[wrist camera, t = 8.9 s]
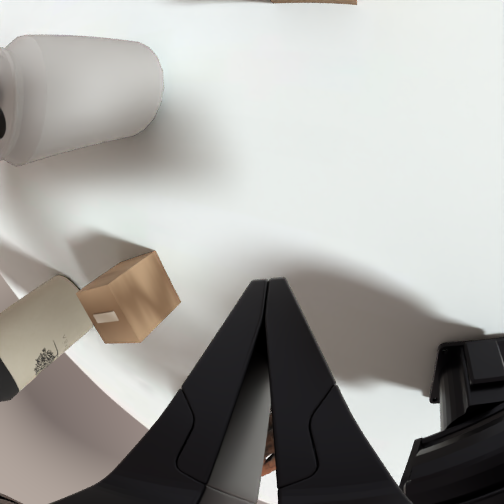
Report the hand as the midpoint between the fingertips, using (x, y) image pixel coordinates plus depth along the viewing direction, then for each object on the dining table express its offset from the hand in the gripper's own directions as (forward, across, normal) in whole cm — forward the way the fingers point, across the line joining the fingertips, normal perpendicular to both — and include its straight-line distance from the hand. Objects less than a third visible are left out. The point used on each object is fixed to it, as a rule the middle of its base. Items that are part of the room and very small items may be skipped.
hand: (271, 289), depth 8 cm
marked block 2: (+13, +13, +12) cm, 22 cm away
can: (+18, +10, -4) cm, 21 cm away
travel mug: (+16, +28, +16) cm, 36 cm away
